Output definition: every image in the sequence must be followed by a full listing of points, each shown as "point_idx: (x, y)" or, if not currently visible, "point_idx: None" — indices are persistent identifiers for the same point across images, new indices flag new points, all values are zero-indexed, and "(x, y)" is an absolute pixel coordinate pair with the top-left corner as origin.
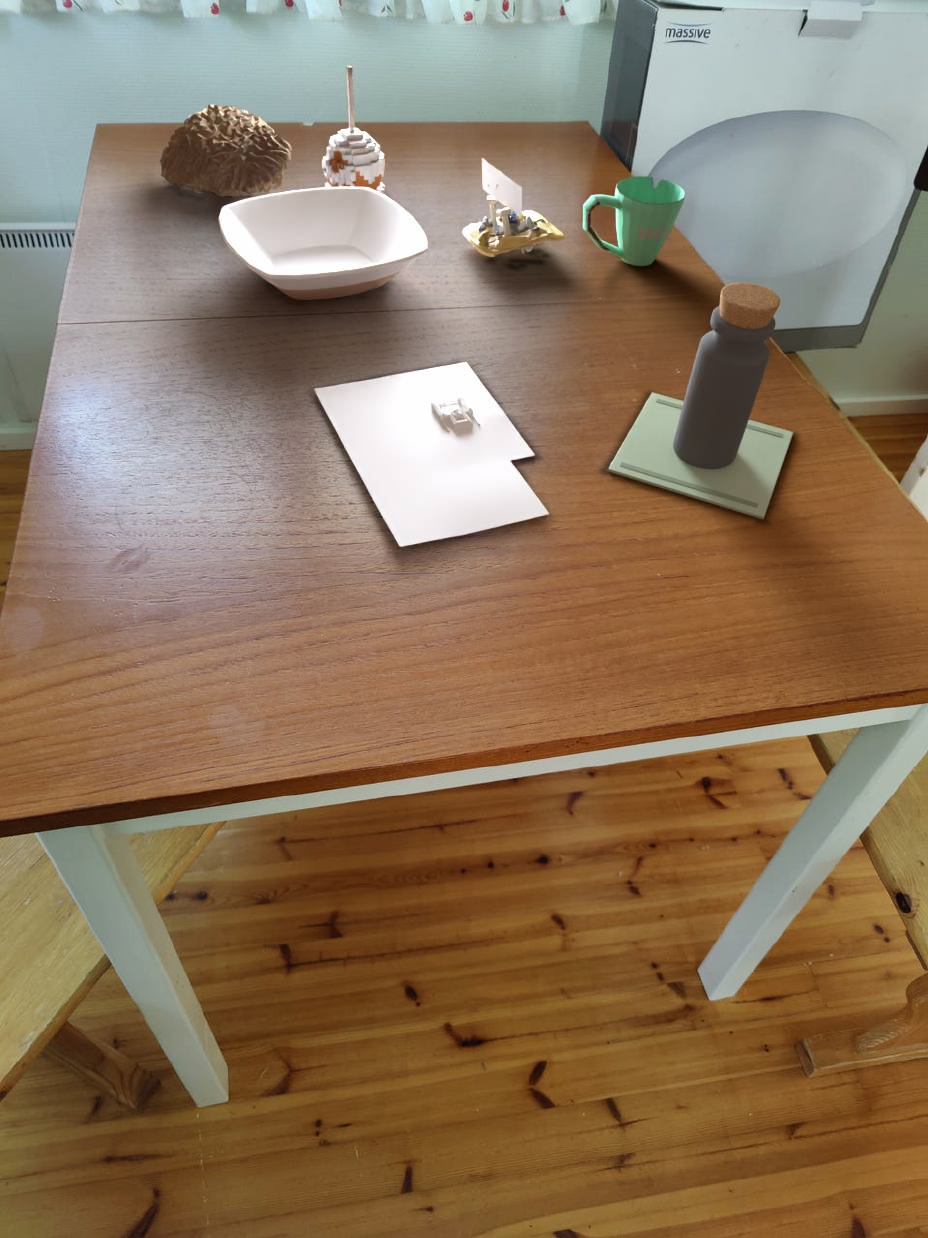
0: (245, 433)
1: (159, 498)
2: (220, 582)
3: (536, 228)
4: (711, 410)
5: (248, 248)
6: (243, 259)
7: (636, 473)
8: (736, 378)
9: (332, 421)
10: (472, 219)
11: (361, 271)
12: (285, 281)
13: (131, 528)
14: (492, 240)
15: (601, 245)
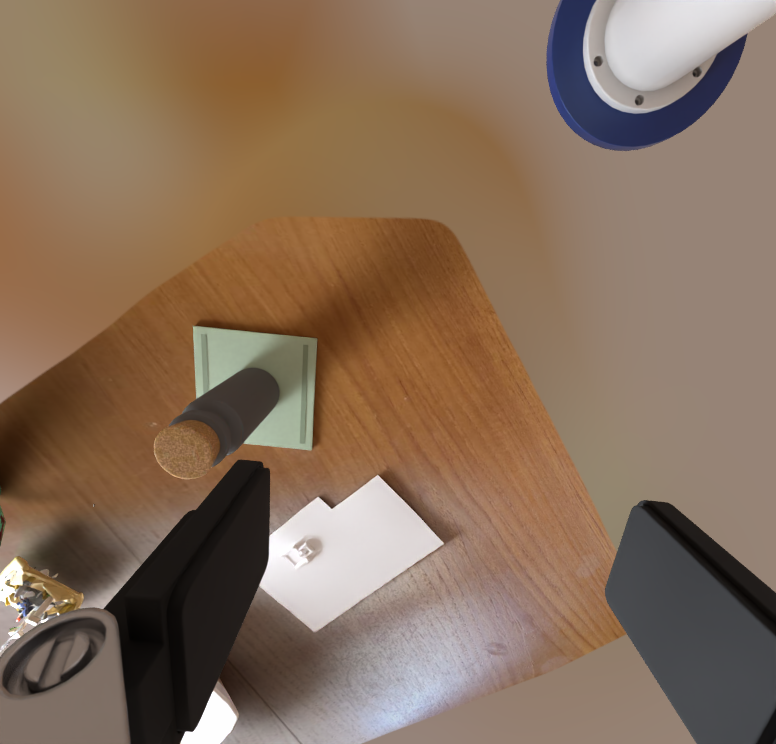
0: (373, 645)
1: (446, 657)
2: (498, 608)
3: (26, 583)
4: (262, 413)
5: (194, 732)
6: (227, 735)
7: (308, 431)
8: (247, 415)
9: (342, 612)
10: (18, 616)
11: None
12: (232, 703)
13: (473, 658)
14: (63, 603)
15: (3, 525)
